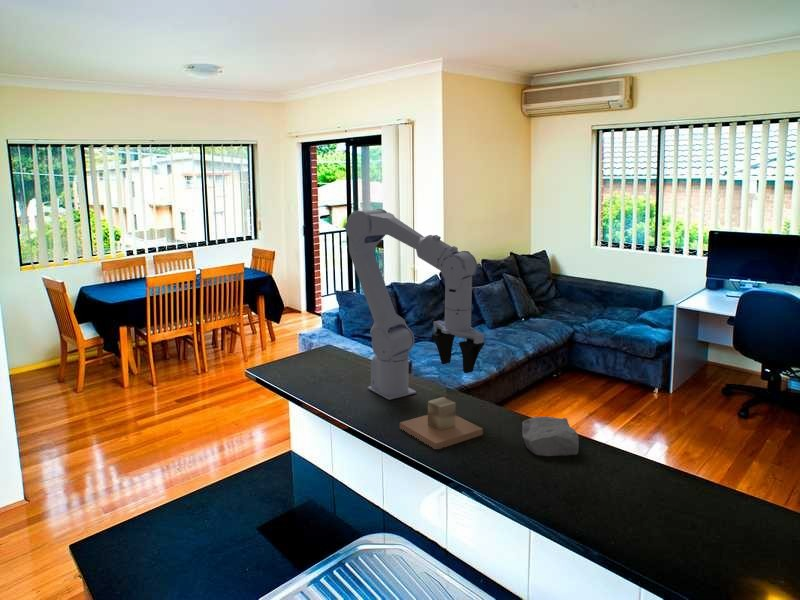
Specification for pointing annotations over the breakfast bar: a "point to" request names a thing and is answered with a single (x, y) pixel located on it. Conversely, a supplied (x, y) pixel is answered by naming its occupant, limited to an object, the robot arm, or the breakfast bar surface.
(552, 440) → the stone block
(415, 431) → the terracotta tile
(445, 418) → the birch block
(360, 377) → the breakfast bar surface
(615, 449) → the breakfast bar surface
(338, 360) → the breakfast bar surface
